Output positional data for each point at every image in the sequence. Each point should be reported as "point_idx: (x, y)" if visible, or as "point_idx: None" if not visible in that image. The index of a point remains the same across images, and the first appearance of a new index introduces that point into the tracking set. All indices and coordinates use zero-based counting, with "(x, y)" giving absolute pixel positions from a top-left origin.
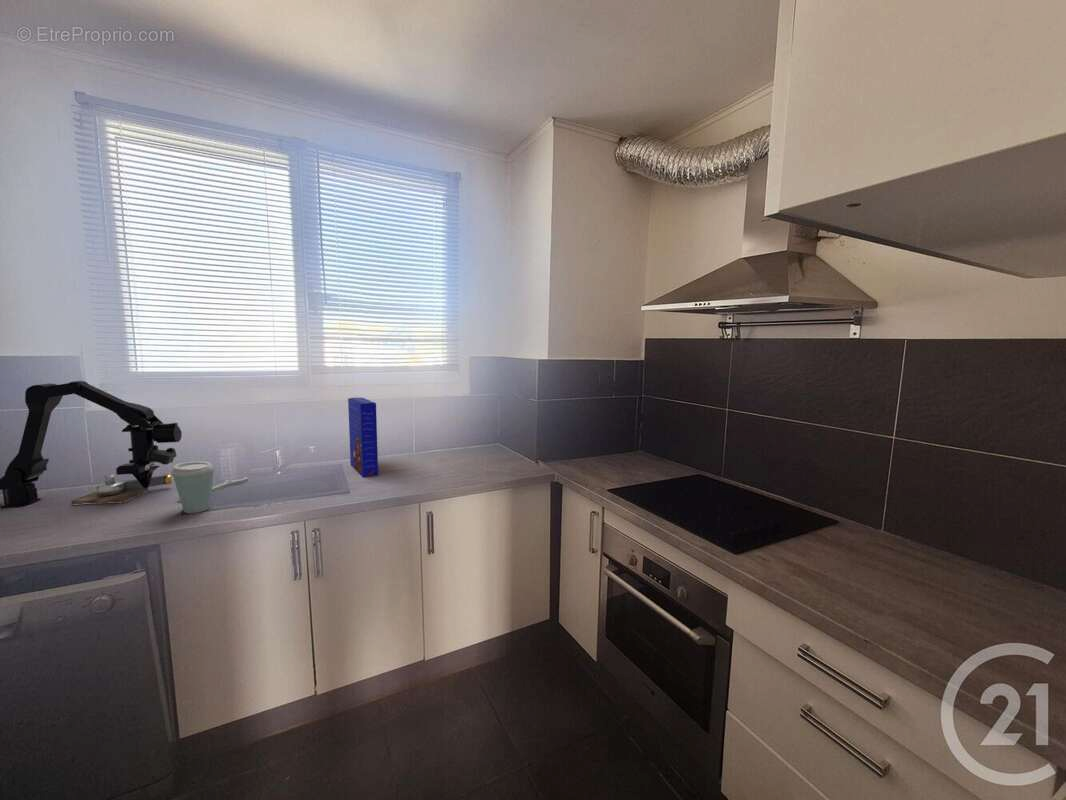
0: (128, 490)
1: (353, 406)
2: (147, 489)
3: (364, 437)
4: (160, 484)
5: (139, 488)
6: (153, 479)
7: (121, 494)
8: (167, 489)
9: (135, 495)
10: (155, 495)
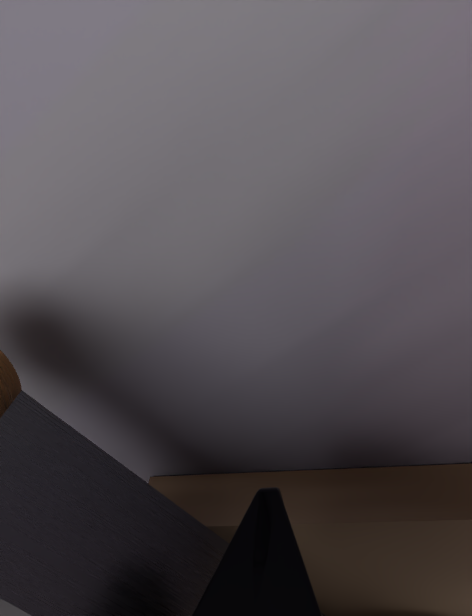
0: None
1: None
2: None
3: None
4: (58, 429)
5: None
6: (89, 596)
7: (455, 599)
8: (44, 301)
9: (388, 483)
10: (348, 269)
